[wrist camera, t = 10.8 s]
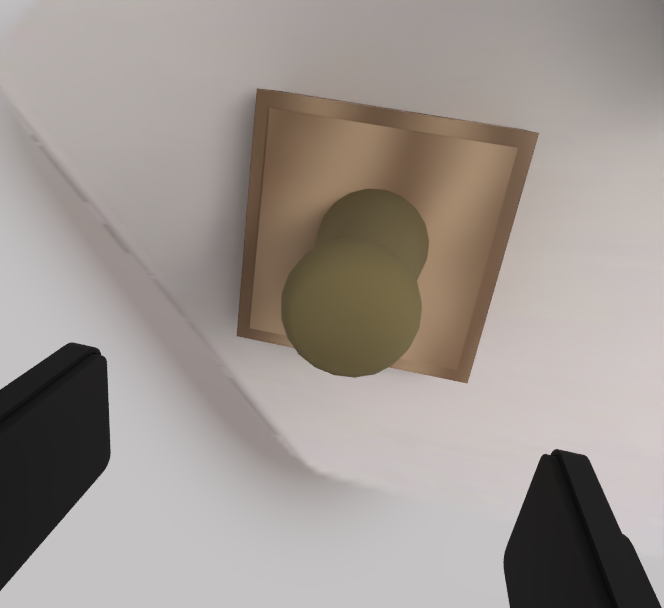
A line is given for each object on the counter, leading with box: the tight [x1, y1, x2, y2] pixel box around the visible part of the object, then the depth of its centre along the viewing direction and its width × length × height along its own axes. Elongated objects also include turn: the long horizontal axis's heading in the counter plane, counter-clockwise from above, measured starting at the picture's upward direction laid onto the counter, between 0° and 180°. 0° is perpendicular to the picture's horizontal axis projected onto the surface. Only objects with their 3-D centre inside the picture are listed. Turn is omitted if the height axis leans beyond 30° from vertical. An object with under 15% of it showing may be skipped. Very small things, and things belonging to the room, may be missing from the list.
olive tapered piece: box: [281, 188, 429, 377], centre depth 22 cm, size 6×6×11 cm
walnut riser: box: [237, 89, 539, 383], centre depth 29 cm, size 14×14×4 cm
